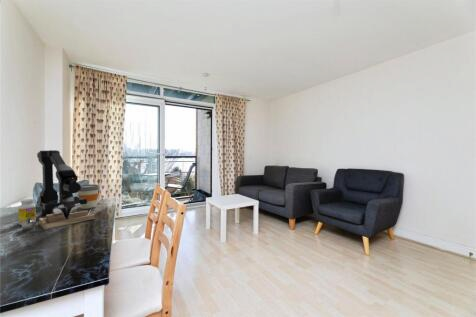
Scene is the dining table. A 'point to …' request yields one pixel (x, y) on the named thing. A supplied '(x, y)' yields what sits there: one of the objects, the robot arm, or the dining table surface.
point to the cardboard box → (54, 217)
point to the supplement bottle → (27, 210)
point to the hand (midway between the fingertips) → (66, 218)
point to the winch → (27, 224)
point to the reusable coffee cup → (89, 195)
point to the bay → (69, 221)
